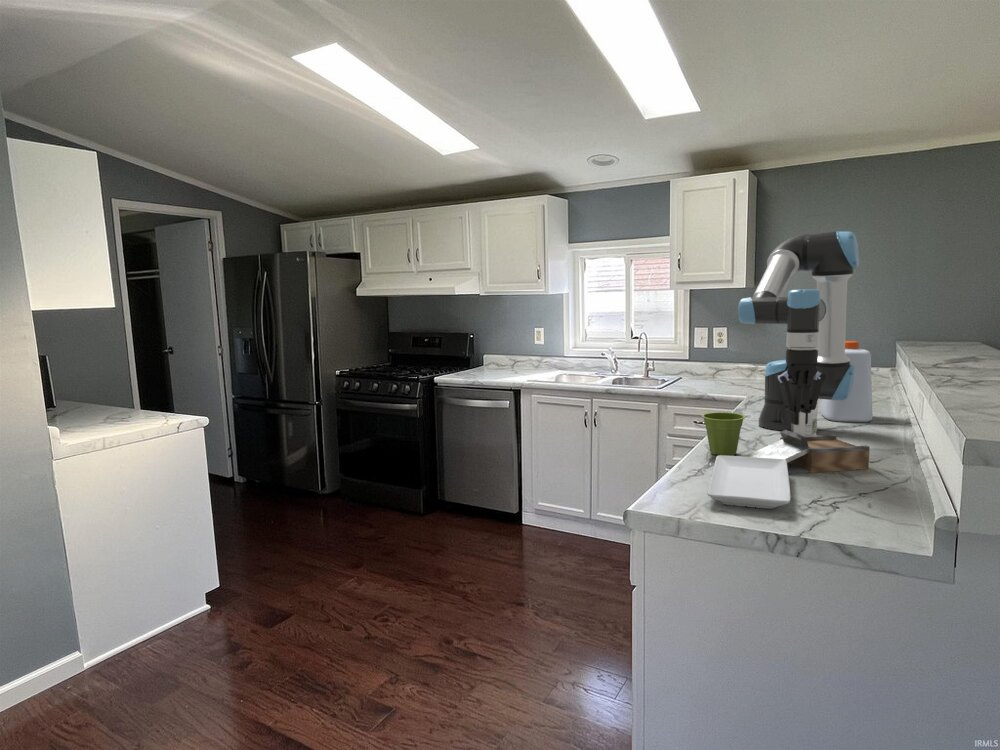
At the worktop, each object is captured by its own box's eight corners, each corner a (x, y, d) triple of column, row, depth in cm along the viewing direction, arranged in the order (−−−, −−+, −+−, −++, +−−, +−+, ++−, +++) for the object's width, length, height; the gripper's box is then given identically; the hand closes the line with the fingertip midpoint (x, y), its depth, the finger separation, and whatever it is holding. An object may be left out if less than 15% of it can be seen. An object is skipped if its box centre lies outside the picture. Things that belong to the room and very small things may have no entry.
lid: (787, 441, 166) (783, 428, 165) (812, 451, 155) (807, 437, 154) (745, 460, 165) (741, 448, 164) (767, 471, 154) (763, 458, 153)
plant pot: (724, 446, 183) (725, 410, 181) (753, 455, 172) (754, 417, 170) (692, 451, 179) (693, 414, 177) (720, 460, 168) (721, 421, 166)
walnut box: (832, 455, 170) (833, 434, 169) (868, 468, 156) (869, 446, 155) (779, 458, 168) (780, 437, 167) (811, 472, 154) (812, 450, 153)
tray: (705, 507, 131) (705, 492, 131) (716, 466, 160) (716, 453, 159) (791, 517, 125) (791, 501, 124) (786, 471, 153) (786, 458, 152)
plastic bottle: (827, 421, 213) (830, 343, 209) (818, 413, 227) (821, 340, 224) (875, 423, 208) (879, 343, 205) (863, 414, 223) (867, 339, 219)
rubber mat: (776, 458, 168) (776, 456, 168) (807, 473, 154) (807, 470, 154) (722, 462, 166) (722, 460, 166) (748, 476, 152) (749, 474, 152)
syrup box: (794, 446, 181) (796, 399, 179) (816, 449, 177) (818, 400, 175) (789, 450, 176) (791, 401, 174) (811, 453, 173) (813, 403, 171)
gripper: (787, 350, 153) (784, 440, 155) (834, 348, 154) (830, 438, 157) (770, 348, 160) (768, 434, 163) (815, 346, 161) (812, 432, 164)
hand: (798, 436), depth 160 cm, fingers closed
